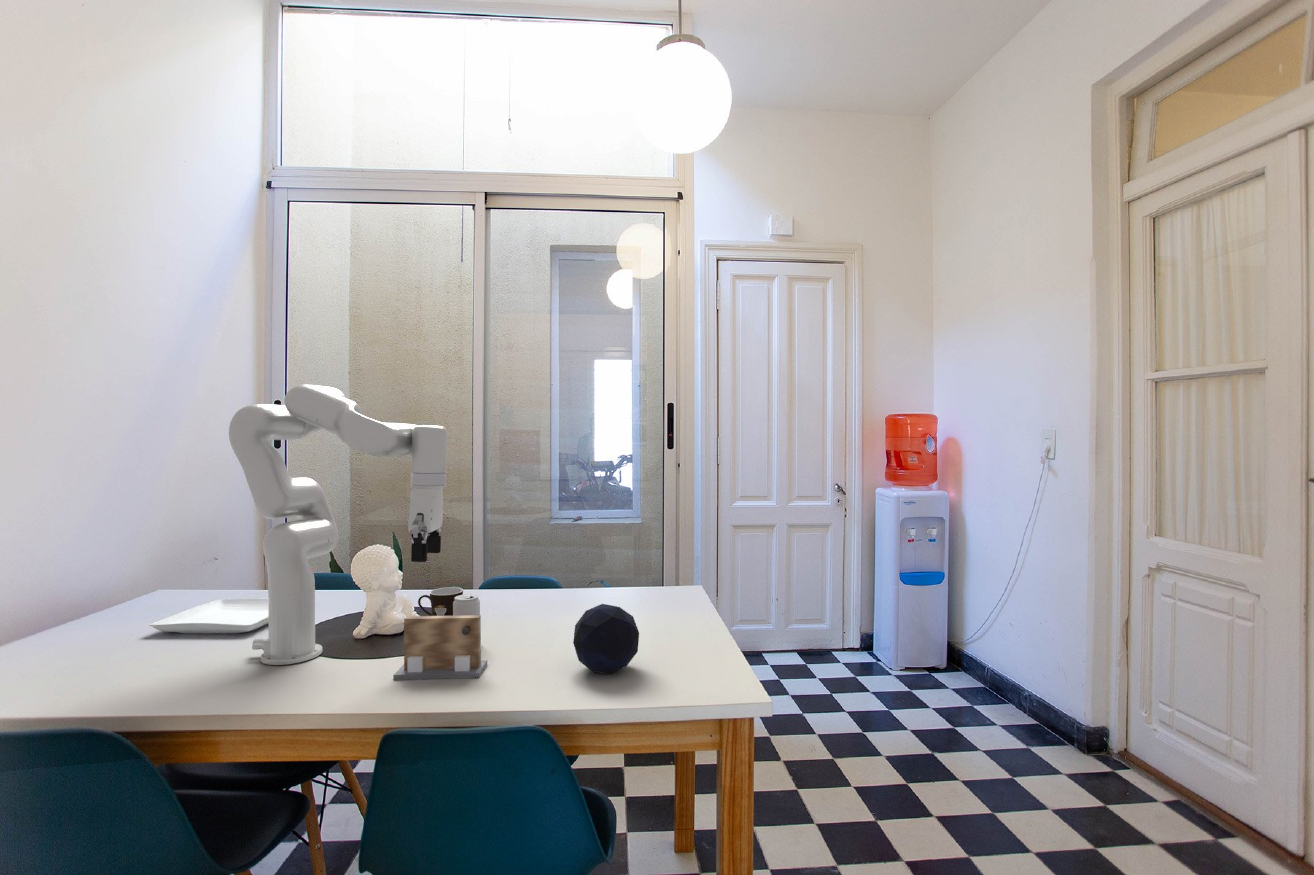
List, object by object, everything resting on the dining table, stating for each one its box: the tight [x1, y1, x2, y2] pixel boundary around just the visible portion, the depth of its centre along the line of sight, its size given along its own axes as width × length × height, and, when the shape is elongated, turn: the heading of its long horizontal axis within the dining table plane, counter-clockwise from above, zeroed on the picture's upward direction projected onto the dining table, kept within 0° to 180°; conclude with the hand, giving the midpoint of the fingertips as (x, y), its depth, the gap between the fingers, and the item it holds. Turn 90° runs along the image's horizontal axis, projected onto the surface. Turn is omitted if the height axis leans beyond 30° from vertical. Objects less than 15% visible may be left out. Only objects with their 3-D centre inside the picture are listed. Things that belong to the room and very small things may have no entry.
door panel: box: [403, 614, 482, 670], centre depth 139 cm, size 16×3×11 cm, turn 93°
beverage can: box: [453, 593, 481, 616], centre depth 157 cm, size 6×6×12 cm
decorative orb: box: [572, 603, 640, 675], centre depth 140 cm, size 14×15×15 cm
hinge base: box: [392, 655, 488, 681], centre depth 139 cm, size 18×8×4 cm, turn 93°
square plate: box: [148, 597, 268, 634], centre depth 178 cm, size 27×27×4 cm
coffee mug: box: [417, 586, 464, 616], centre depth 172 cm, size 12×9×10 cm
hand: (426, 557), depth 142 cm, fingers open, 9 cm apart
